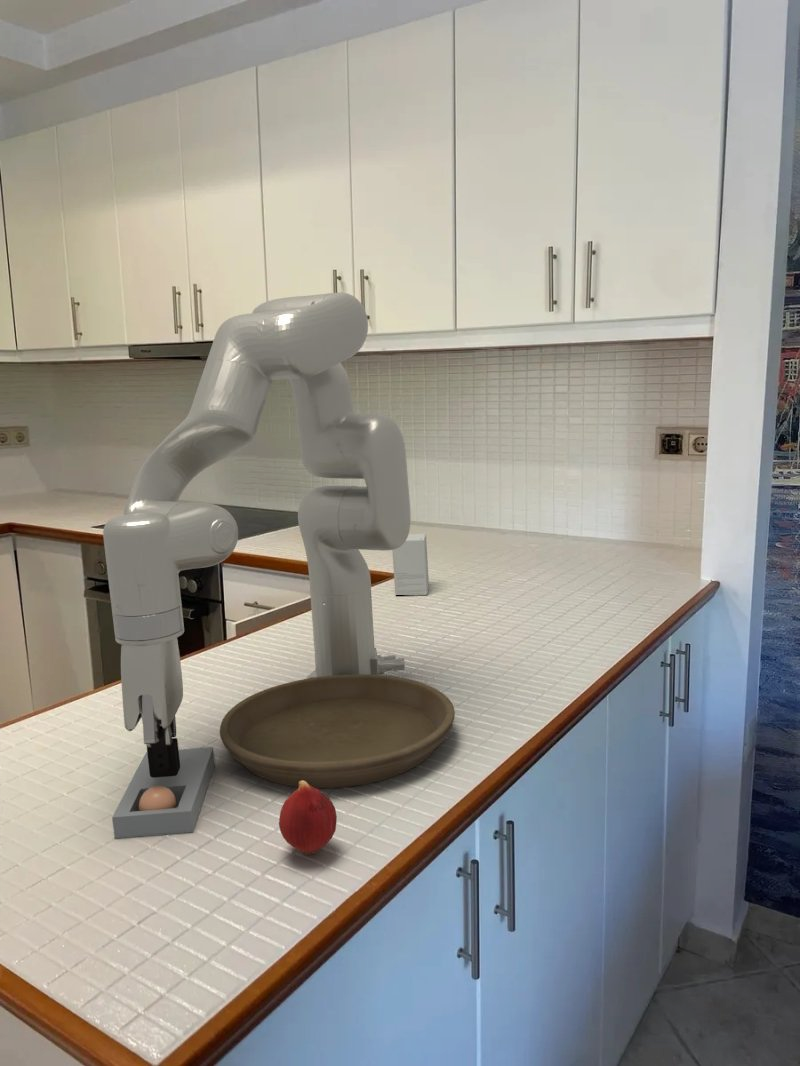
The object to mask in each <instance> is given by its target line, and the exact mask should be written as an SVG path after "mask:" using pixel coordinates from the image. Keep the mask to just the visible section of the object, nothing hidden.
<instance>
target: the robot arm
mask: <svg viewBox="0 0 800 1066" xmlns="http://www.w3.org/2000/svg"><path fill="white" fill-rule="evenodd" d="M368 331H369V319H368V315H367V312H366V310H365V308H364V305H363V304H362V303H361V301H359V299H358V298H357V297H355V296H353V295H352V294H349V293H347V292H330V293H322V294H321V293H319V294H313V295H299V296H298V295H297V296H289V297H282V298H276V299H271V300H267V301H264V302H262V303H260V304H259V305H257V306H256V307H255V308H254V309H253V311H252V312H251V313H244V314H238V315H235V316H232V317H229V318H228V319H226V320H225V321H224V322H223V323H221V324H220V326H219V327H218V329H217V331H216V333H215V336H214V339H213V341H212V345H211V347H210V350H209V353H208V356H207V359H206V363H205V364H204V369H203V371H202V375H201V377H200V380H199V383H198V386H197V389H196V392H195V394H194V398H193V402H192V405H191V407H190V410H189V411H188V412H189V413H188V414H187V416H186V417H185V419H184V420H183V421H182V422H180V423H179V424H178V425H177V426H176V427H175V428H174V429H173V430H172V431H171V432H170V433H169V434H168V435H167V436H166V437H165V438H164V439H163V440H162V441H161V442H160V443H159V445H157V447H156V448H155V449H154V450H153V451H152V452H151V453H150V454H149V456H148V457H147V458H146V459H145V461H144V462H143V464H142V465H141V467H140V469H139V471H138V472H137V474H136V476H135V478H134V480H133V484H132V486H131V489H130V492H129V495H128V498H127V501H126V504H125V507H124V512H123V514H122V515H119V516H115V517H112V518H110V519H109V520H107V522H106V523H105V524H104V526H103V531H102V532H103V533H102V535H103V547H104V553H105V561H106V563H105V564H106V570H107V580H108V589H109V595H110V596H109V597H110V604H111V612H112V613H111V614H112V620H113V631H114V638H115V639H114V640H115V642H116V643H117V644H119V645H121V646H120V647H121V648H120V676H121V679H120V681H121V696H122V699H121V700H122V711H123V721H124V722H123V725H124V728H125V729H126V731H128V732H132V731H134V730H135V729H136V727H138V726H137V725H138V724H139V722H140V721H142V730H143V731H142V732H143V733H142V734H143V744H144V745H145V746H146V752H147V755H148V763H149V772H150V776H151V777H152V778H157V777H170V776H176V775H177V774H178V772H179V769H180V759H179V750H180V749H179V743H178V737H177V723H176V721H177V720H176V714H177V712H178V710H179V708H180V706H181V704H182V701H183V697H184V686H183V684H184V682H183V672H182V664H181V655H180V649H179V644H178V643H179V640H178V638H179V637H181V636H182V635H183V634H184V632H185V626H184V616H183V604H182V596H181V587H180V577H179V573H180V572H181V571H185V570H192V569H201V568H209V567H213V566H216V565H218V564H220V563H222V562H223V561H225V560H226V559H228V558H229V557H230V556H231V554H232V553H234V551H235V548H236V547H237V544H238V541H239V528H238V524H237V520H235V518H234V516H233V515H232V514H231V513H230V512H229V511H228V510H226V508H223V507H221V506H220V505H216V504H212V503H205V502H189V501H188V502H186V501H184V502H183V501H179V499H180V497H181V495H182V494H183V492H184V490H185V489H186V487H187V486H188V485H189V484H190V483H191V481H193V479H194V478H196V477H197V476H198V475H199V474H200V473H201V472H203V471H204V470H206V469H207V468H209V467H211V466H213V465H215V464H217V463H218V462H220V461H222V460H225V459H226V458H228V457H230V456H232V455H234V454H236V453H237V452H239V451H241V450H243V449H244V448H247V447H248V446H249V445H250V444H251V443H252V442H253V441H254V439H255V437H256V435H257V432H258V430H259V429H258V428H259V425H260V422H261V418H262V414H263V411H264V408H265V404H266V401H267V398H268V396H269V392H270V389H271V386H272V383H273V382H274V381H275V380H276V381H277V380H288V381H289V384H290V386H291V389H292V394H293V399H294V405H295V415H296V424H297V431H298V441H299V448H300V454H301V455H300V456H301V460H302V465H303V466H304V469H305V470H306V471H307V472H308V473H309V474H310V475H312V476H314V477H317V478H323V479H352V480H355V479H356V480H360V479H361V480H362V479H363V480H364V481H365V484H366V486H357V485H325V486H323V485H322V486H318V487H316V488H313V489H312V490H310V491H309V492H306V494H305V495H304V496H303V497H302V499H301V501H300V503H299V506H298V510H297V511H298V512H297V521H298V527H299V532H300V535H301V538H302V539H301V540H302V542H303V546H304V551H305V555H306V561H307V568H308V569H307V570H308V579H309V591H310V592H309V593H310V594H309V595H310V607H311V609H310V610H311V623H312V632H313V633H312V635H313V646H314V647H313V648H314V649H313V650H314V662H315V670H313V671H312V672H311V673H309V675H307V677H306V679H308V678H315V677H323V676H333V675H355V674H365V675H383V676H387V674H386V672H388V671H393V672H396V671H397V672H399V671H405V658H404V657H400V658H399V657H398V658H396V654H395V655H393V654H392V655H387V656H382V655H381V654H377V653H378V652H377V648H376V647H375V635H374V633H375V632H374V617H373V616H374V615H373V613H374V612H373V599H372V598H373V597H372V582H371V579H372V578H371V573H370V569H369V567H368V566H369V565H368V564H367V561H366V559H365V558H364V556H363V554H362V552H361V551H360V550H364V551H365V550H366V551H381V552H382V551H386V552H387V551H392V550H394V549H397V548H399V547H400V546H402V545H403V544H404V542H405V541H406V539H407V537H408V534H410V531H411V530H410V529H411V522H412V521H411V501H410V500H411V499H410V490H409V478H408V477H409V475H408V466H407V465H408V464H407V454H406V445H405V439H404V436H403V434H402V431H401V429H400V427H399V425H398V424H397V422H395V420H394V419H393V418H391V417H390V416H388V415H385V414H380V413H356V411H355V408H354V404H353V403H354V402H353V397H352V396H353V395H352V390H351V382H350V379H349V375H348V373H347V371H346V369H345V368H344V366H343V364H342V362H345V361H346V360H348V359H350V358H351V357H353V356H355V355H356V354H357V353H358V352H359V351H360V350H361V349H362V347H363V346H364V344H365V342H366V340H367V339H366V338H367V336H368Z"/></svg>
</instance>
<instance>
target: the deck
mask: <svg viewBox="0 0 800 1066" xmlns="http://www.w3.org/2000/svg"><path fill="white" fill-rule="evenodd" d="M178 750H179V759H180V769H179V772H178V774H177V775H176V776H170V777H157V778H152V777H151V776H150V772H149V763H148V755H147V751H146V752H145V754H144V756H143V758H142V759H141V761H140V763H139V765H138V767H137V769H136V771H135V773H134V775H133V776H132V778H131V781H130V782H129V784H128V787H127V788H126V790H125V792H124V794H123V795H122V798H121V799H120V801H119V803H118V806H117V807H116V809H115V811H114V813H113V814H112V816H111V818H112V827H113V835H114V839H124V838H126V839H127V838H137V837H151V836H161V835H163V836H165V835H173V834H174V835H175V834H176V835H177V834H185V833H189V834H190V833H194V831H195V829H196V828H195V827H196V825H197V821H198V818H199V815H200V812H201V809H202V806H203V804H204V800H205V797H206V794H207V791H208V789H209V785H210V783H211V779H212V775H213V773H214V769H215V767H216V762H215V751H214V746H213V747H212V746H209V747H198V748H197V747H196V748H195V747H194V748H184V749H178ZM154 786H164V787H167V788H168V789H170V790H171V791H172V792H173V794H174V796H175V799H176V807H175V808H172V809H160V810H147V811H139V801H140V798H141V796H142V795H143V793H144V792H145V791H146V790H148V789H149V788H151V787H154Z"/></svg>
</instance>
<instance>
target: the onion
mask: <svg viewBox="0 0 800 1066" xmlns="http://www.w3.org/2000/svg"><path fill="white" fill-rule="evenodd" d="M337 816H338V815H337V810H336V807H335V805H334V803H333V801H332V800H331V799H330V798H329V797H328V795H326V794H325V793H323V792H322V790H320V789H319V788H313V787H312V786H310V785H308V784H307V782H306V781H304V780H303V781H299V787H298V789H296V790H294V791H293V792H292V793H291V794H290V795H289V796H288V797H287V798H286V800H284V802H283V804H282V806H281V810H280V811H279V819H278V826H279V827H278V828H279V829H280V833H281V836H282V837H283V839H284V841H286V843H287V844H288V845H290V846H291V847H293V848H294V849H295V850H298V851H299V852H301V853H303V854H305V855H308V856H309V855H313V854H314V853H316V852H318V851H320V850H321V849H323V848H324V847H326V845H327V844H328V843H329V842H330V841H331V840H332V838H333V836H334V835H335V832H336V828H337V818H338V817H337Z"/></svg>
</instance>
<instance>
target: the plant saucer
mask: <svg viewBox="0 0 800 1066" xmlns="http://www.w3.org/2000/svg"><path fill="white" fill-rule="evenodd" d="M455 714H456V712H455V707H454V705H453V703H452V701H451V700H450V698H449V697H448V696H447V695H445V694H444V693H443V692H442V691H440V690H439V689H437V688H434V687H433V686H430V685H429V684H426V683H424V682H420V681H416V680H413V679H410V678H403V677H399V676H390V675H386V676H383V675H365V674H355V675H333V676H323V677H315V678H308V679H307V678H303V679H299V680H294V681H290V682H285V683H282V684H278V685H275V686H271V687H269V688H266V689H263V690H261V691H258V692H255V693H254V694H252V695H250V696H248V697H246V698H244V699H243V700H241V701H239V702H238V703H237V704H235V705H234V706H233V707H232V708H230V709H229V710H228V711H227V713H226V714H225V715H224V717H223V718H222V720H221V723H220V726H219V727H220V728H219V736H220V739H221V742H222V745H224V747H225V749H226V750H227V752H228V753H229V754H230V755H231V756H232V757H233V758H234V759H235V760H237V761H238V762H239V763H241V764H242V765H244V767H246V769H247V770H248V771H250V772H252V774H254V775H256V776H258V777H260V778H262V779H264V780H268V781H270V782H274V783H278V784H280V785H281V784H282V785H286V786H292V787H298V788H299V781H303V780H304V781H306V782H307V784H308V785H310V786H312V787H313V788H316V789H334V788H335V789H336V788H347V787H354V786H355V787H357V786H361V785H366V784H372V783H377V782H380V781H385V780H387V779H390V778H393V777H396V776H399V775H401V774H403V773H405V772H408V771H410V770H411V769H413V768H415V767H416V766H418V765H419V764H421V763H422V762H424V761H425V760H426V759H428V757H429V756H430V755H431V754H432V753H433V752H434V750H435V749H436V748H437V747H438V746H439V745H440V744H441V743H442V742H443V741H444V740H445V739H446V737H447V735H448V734H449V732H450V730H451V728H452V726H453V723H454V720H455Z"/></svg>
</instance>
